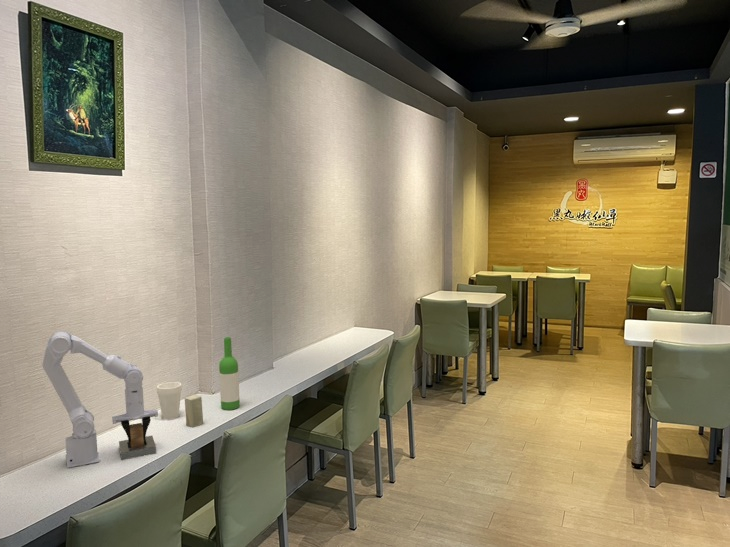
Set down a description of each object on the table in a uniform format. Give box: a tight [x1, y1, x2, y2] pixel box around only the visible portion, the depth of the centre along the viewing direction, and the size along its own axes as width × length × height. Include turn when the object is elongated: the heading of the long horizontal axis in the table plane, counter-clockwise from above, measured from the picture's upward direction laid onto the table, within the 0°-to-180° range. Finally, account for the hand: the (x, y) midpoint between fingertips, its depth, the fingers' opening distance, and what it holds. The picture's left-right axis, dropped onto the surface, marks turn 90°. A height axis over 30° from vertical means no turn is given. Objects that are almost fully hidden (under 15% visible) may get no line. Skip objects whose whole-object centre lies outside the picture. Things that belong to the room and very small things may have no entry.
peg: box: [129, 422, 144, 448], centre depth 194 cm, size 4×4×8 cm
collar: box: [118, 435, 157, 461], centre depth 194 cm, size 11×11×2 cm
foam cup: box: [156, 381, 182, 420], centre depth 227 cm, size 10×9×13 cm
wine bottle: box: [218, 337, 241, 411], centre depth 236 cm, size 8×8×30 cm
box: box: [184, 394, 204, 428], centre depth 218 cm, size 5×4×11 cm
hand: (136, 439), depth 194 cm, fingers closed on peg, 4 cm apart
